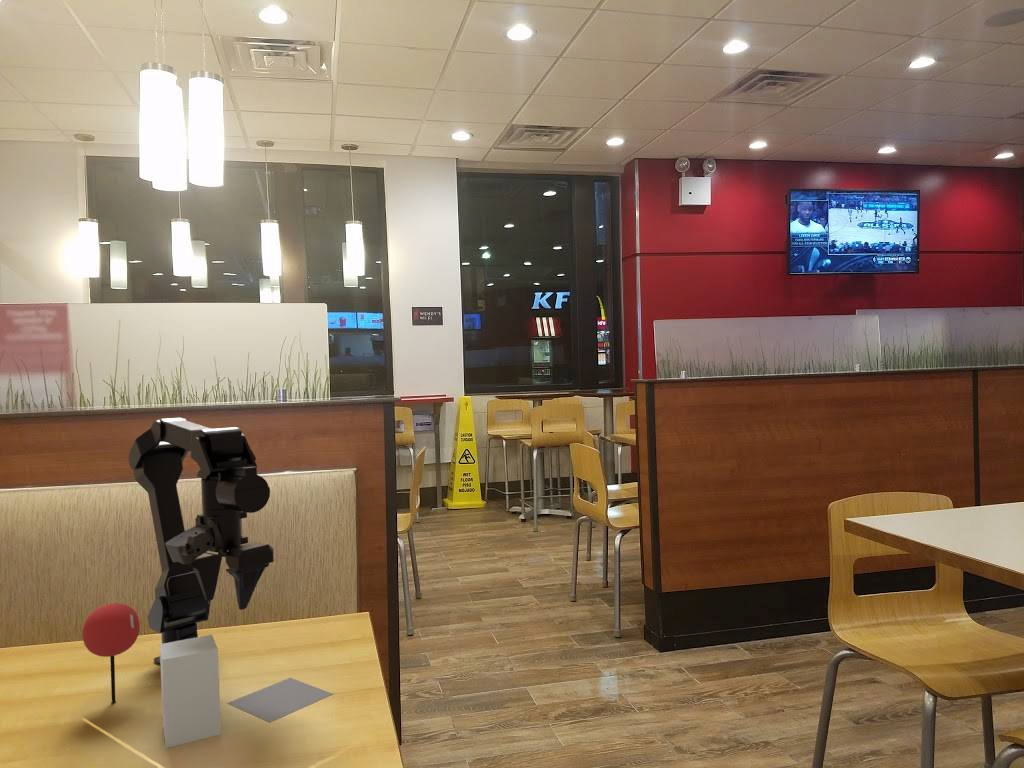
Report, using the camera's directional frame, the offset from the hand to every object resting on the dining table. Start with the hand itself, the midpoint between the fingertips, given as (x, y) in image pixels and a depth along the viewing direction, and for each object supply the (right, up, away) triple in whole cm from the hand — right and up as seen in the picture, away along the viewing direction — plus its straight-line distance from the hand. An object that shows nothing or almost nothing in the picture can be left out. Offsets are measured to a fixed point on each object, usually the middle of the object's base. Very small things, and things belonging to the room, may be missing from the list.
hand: (225, 604), depth 116 cm
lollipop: (-15, -14, -5) cm, 21 cm away
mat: (+11, -13, -6) cm, 18 cm away
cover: (+1, -13, -16) cm, 20 cm away
